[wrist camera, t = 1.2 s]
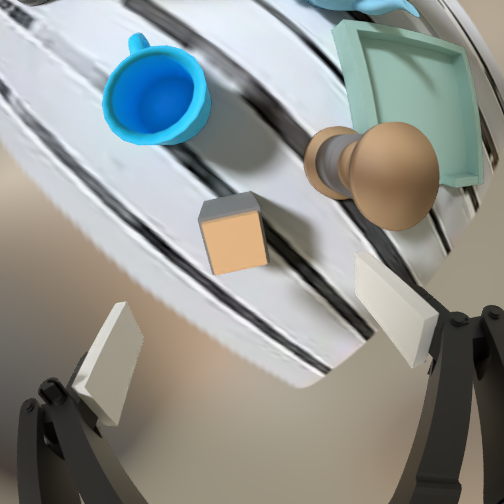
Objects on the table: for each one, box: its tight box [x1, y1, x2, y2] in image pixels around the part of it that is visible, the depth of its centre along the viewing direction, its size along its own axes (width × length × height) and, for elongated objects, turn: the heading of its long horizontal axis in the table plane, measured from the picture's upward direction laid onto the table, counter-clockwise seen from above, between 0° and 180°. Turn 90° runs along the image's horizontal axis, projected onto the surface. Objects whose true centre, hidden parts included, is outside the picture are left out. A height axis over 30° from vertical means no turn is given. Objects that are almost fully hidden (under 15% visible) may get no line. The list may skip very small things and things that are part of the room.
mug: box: [102, 33, 211, 145], centre depth 19 cm, size 12×8×8 cm
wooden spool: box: [304, 122, 440, 231], centre depth 22 cm, size 8×8×12 cm
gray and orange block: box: [198, 191, 270, 275], centre depth 25 cm, size 5×5×8 cm
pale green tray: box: [331, 19, 483, 188], centre depth 24 cm, size 20×20×4 cm
